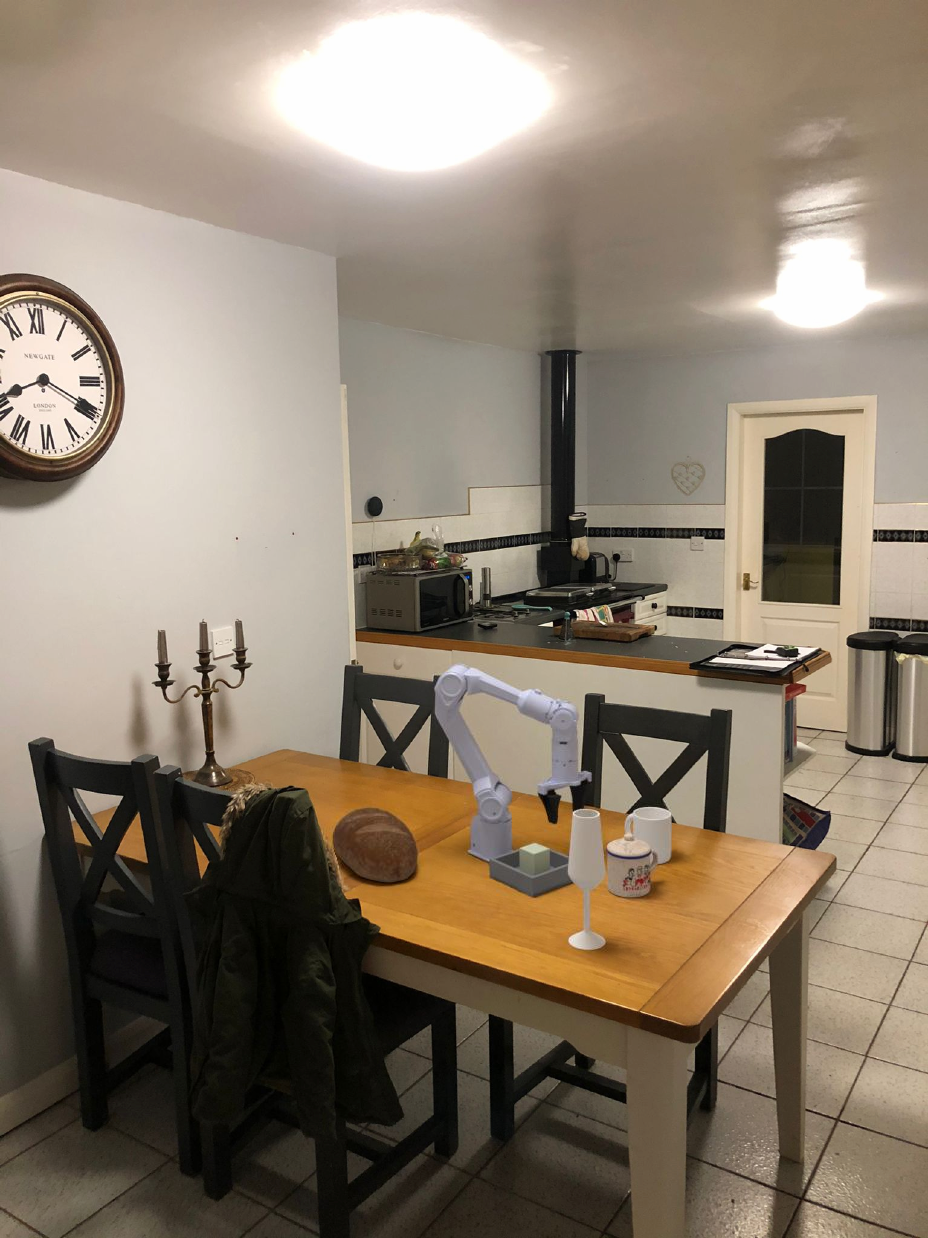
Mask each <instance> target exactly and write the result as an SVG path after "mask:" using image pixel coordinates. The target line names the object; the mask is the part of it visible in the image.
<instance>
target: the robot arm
mask: <svg viewBox="0 0 928 1238" xmlns="http://www.w3.org/2000/svg"><path fill="white" fill-rule="evenodd" d="M466 693H467V696H472V695H477V694H480V693H484V694H486V695H489V696H491V697H494V698H496V699H499V700H502V701H505V702H507V703H510V704H512V705H515V706H516V708H517V709H518V712H519V714H522V715H524V716H526V717H528V718H531V719H533V720H535V721H538V722H540V723H543V724H544V725H549V726H550V728H551V730H552V732H551V733H552V735H551V736H552V737H551V777H550V778H547V779H546V780H544V781H542V782H540V783H538V784H537V796H538V798H539V799H540V801H541V804H542V805H543V807H544V810H545V814H546V817H547V820H548V821H547V822H548V823H551V824H553V825H556V824H558V821H559V807H560V803H561V799H562V795H561V794H558V793H557V792H556V791H557V790H561V789H564V788H567V787H569V790H570V795H571V803H572V804H571V805H572V813H573V812H574V811H576V810H580V809H584V808H585V804H586V801H587V799H588V797H589V794H590V793H591V791H592V789H593V784H592V783H590V782H592V772H589V771H587V770H583V771H579V738H578V722H579V718H580V716H579V711H578V708H577V707H576V706H575V705H574V704H573V703H571V702H570V701H565V700H564V701H562V700H561V699H560V698H556V699H554V698H552V697H550V696H548V695H546V694H543V693H542V690H540V689H539V688H535V689H532V688H529V689H526V690H524V691H523V690H520V689H518V688H517V687H514V686H512V685H510V684H508V683H505V682H503V681H502V680H499V679H497V678H495V677H493V676H491V675H489V674H487V673H485V672H483V671H481V670H479V669H477V668H476V667H469V666H468V665H466V664H463V663H455V664H453V665H451V666H450V667H449V668H448V669H447V670H446V671H445V672H443V673H442V674H441V675H440V676H439V677H438V679H437V682H436V684H435V685H434V694H435V696H434V697H435V699H434V714H435V718H436V720H437V721H438V723H439V725H440V726H441V728H442V730H443V731H444V734H445V735H446V737H447V740H448V741H449V743H450V745H451V747H452V749H453V751H454V752H455V754H456V756H457V758H458V759H459V762H460V763H461V765H462V767H463V769H464V771H465V772H466V775H467V776H468V778H469V779H470V782H471V783H472V789H473V795H474V798H475V799H476V800H475V801H476V803H477V811H478V812H477V813H476V814H474V816H473V818H472V819H471V822H470V826H469V827H470V828H469V829H470V849H468V850H467V853H468V854H471V855H473V856H474V857H477V858H479V859H481V860H483V861H485V862H487V863H489V859H491V858H494V857H497V856H500V855H503V854H506V853H509V852H512V851H515V850H513V824H512V823H513V822H512V820H513V819H512V818H513V817H512V813H511V812H510V810H509V806H510V804H511V803H512V800H513V793H512V790H511V789H510V787H509V786H508V785H507V784H505V783H503V781H502V780H501V778H500V777H499V775H498V774H496V773H495V772H493V770H492V769H491V768H492V767H490V765H489V763H488V761H487V760H486V758H485V756H484V754H483V752H482V750H481V749H480V748H481V747H479V744H478V743H477V740H476V739H475V738H474V735H473V733H472V731H471V730H470V728H469V726H468V725H467V723H466V720H465V719H464V717H463V715H462V713H461V711H460V710H461V709H460V708H461V706H462V703H463V700H464V697H465V695H466Z"/></svg>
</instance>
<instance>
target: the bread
mask: <svg viewBox="0 0 928 1238" xmlns="http://www.w3.org/2000/svg"><path fill="white" fill-rule="evenodd" d="M332 845H333V850H334V851H335V853H336V854H337V856H338V857H339V858H340V859H341V860H342V862H343V863H344V864H346V865H347V866H348V867H349V868H350V869H351V870H353V872H354V873H355V874H357V875H358V876H360V877H362V878H364V879H368V880H371V881H376V882H381V883H395V882H400V881H403V880H405V879H408V878H409V877H410V876H411V875H412V874H413V873H414V871H415V870H416V868H417V865H418V857H419V853H418V848H417V844H416V840H415V838H414V836H413V833H412V832H411V830H410V829H409V827H408V826H407V825H406V823H404V822H403V821H402V820H401V819H400V818H398V817H397V816H396V815H394V814H392V813H391V812H390V811H388V810H382V809H380V808H378V807H363V808H359V809H355V810H353V811H350V812H349V813H347V814H346V815H345V816H343V817H342V818H341V819H340V820H339V821H338V823H337V824H336V825H335V827H334V830H333V833H332Z"/></svg>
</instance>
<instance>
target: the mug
mask: <svg viewBox="0 0 928 1238" xmlns="http://www.w3.org/2000/svg"><path fill="white" fill-rule="evenodd" d="M631 826H632V830H631ZM624 832H625V834H627V833H630V834H633V836H634V838H636V839H638V840H640V841H643V842H646V843H647V844H648V845H649V846H650V847H651V849H652V850H654V851H656V852H657V854H658V863H657V865H661V864H665V863H667V862H669V861H670V859H671V858H672V813H671V811H669V810H668V809H666V808H661V807H656V806H654V807H652V806H648V807H647V806H646V807H645V806H644V807H639V808H637V809H634V810H633V812H632V813H630V814H628V816H627V817H626V819H625V821H624ZM652 861H653V854H650V865H651V864H652Z"/></svg>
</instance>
